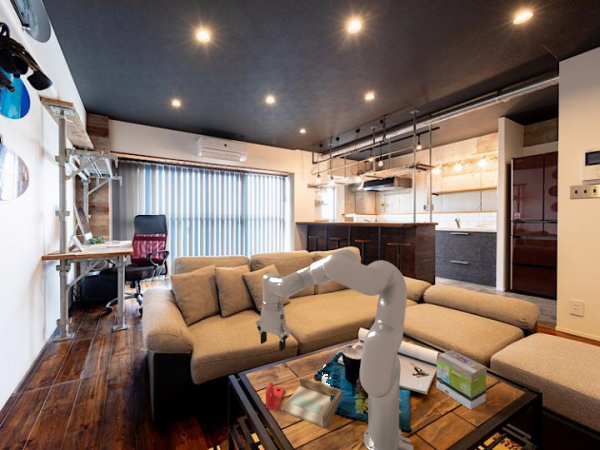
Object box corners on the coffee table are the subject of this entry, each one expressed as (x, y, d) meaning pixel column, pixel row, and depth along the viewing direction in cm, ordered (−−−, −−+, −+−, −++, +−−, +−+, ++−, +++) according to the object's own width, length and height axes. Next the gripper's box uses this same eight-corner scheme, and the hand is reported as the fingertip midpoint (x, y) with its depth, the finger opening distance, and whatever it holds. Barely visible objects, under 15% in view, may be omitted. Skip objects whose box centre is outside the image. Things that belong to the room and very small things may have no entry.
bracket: (277, 410, 107) (276, 390, 106) (266, 408, 108) (265, 389, 107) (284, 389, 119) (284, 372, 118) (274, 388, 120) (273, 371, 119)
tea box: (435, 388, 117) (435, 354, 116) (450, 380, 122) (451, 348, 121) (471, 411, 104) (471, 373, 103) (486, 402, 109) (487, 365, 108)
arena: (342, 400, 111) (342, 390, 111) (326, 428, 97) (325, 417, 97) (301, 386, 121) (300, 376, 120) (280, 410, 107) (280, 399, 106)
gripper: (295, 306, 109) (295, 348, 110) (262, 297, 118) (262, 336, 120) (283, 312, 103) (284, 356, 104) (249, 303, 112) (250, 343, 114)
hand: (272, 345), depth 112 cm, fingers open, 9 cm apart
